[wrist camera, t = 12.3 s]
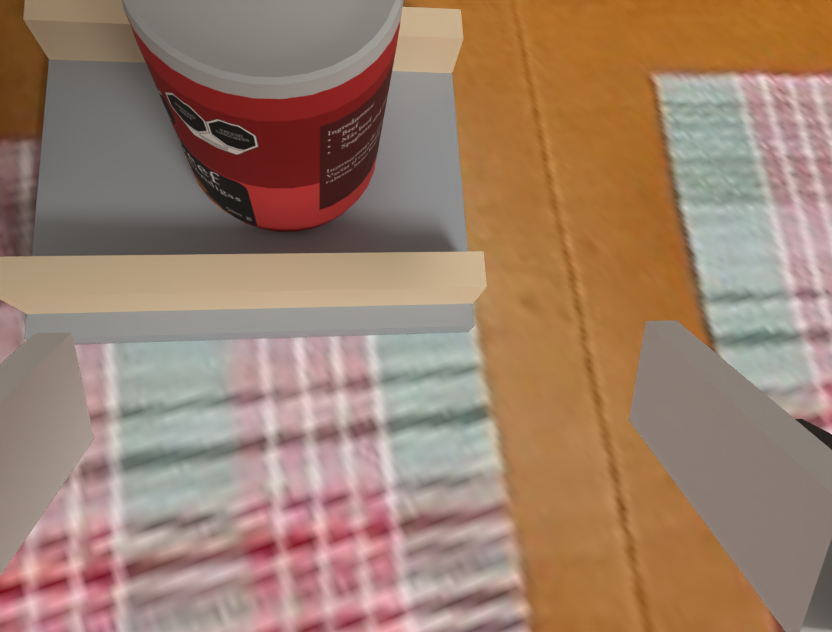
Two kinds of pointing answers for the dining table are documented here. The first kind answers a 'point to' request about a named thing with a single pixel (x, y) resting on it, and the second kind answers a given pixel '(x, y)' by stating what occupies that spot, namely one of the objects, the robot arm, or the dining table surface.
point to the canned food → (273, 98)
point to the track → (221, 232)
